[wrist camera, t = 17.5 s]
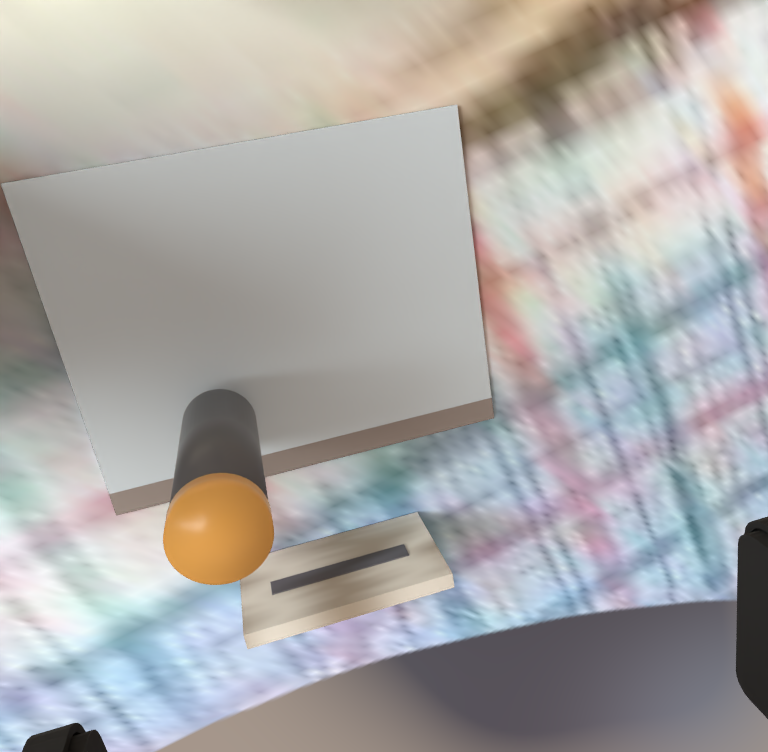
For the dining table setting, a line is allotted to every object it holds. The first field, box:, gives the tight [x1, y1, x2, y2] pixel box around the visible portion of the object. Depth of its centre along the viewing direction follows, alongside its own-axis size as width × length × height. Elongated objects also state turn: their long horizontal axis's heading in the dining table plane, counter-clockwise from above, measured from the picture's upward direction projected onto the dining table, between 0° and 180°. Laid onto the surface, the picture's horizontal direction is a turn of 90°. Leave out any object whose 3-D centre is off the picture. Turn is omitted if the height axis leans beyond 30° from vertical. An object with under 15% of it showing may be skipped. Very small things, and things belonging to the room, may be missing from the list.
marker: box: [163, 389, 274, 585], centre depth 27 cm, size 4×4×12 cm
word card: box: [240, 512, 454, 649], centre depth 34 cm, size 10×1×6 cm, turn 100°
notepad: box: [1, 105, 494, 515], centre depth 32 cm, size 20×16×1 cm
